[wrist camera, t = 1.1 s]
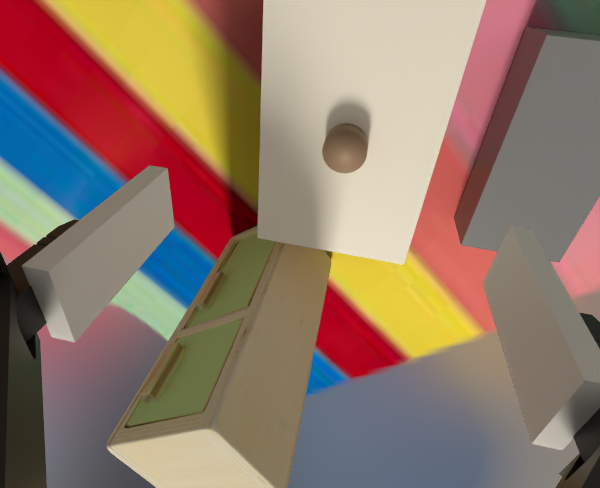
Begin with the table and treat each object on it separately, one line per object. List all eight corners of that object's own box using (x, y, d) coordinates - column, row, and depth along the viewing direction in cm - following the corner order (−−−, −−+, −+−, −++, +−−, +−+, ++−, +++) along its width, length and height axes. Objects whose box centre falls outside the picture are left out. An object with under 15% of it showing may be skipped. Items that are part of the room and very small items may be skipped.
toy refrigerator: (295, 198, 34) (202, 421, 17) (334, 260, 37) (288, 501, 20) (226, 229, 37) (91, 441, 20) (267, 283, 40) (179, 507, 24)
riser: (526, 26, 24) (546, 35, 21) (646, 40, 23) (687, 51, 20) (454, 217, 32) (461, 245, 29) (541, 232, 31) (559, 262, 28)
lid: (276, -28, 20) (256, -28, 17) (477, -6, 19) (493, -2, 16) (266, 220, 29) (252, 248, 26) (402, 244, 28) (404, 276, 25)
